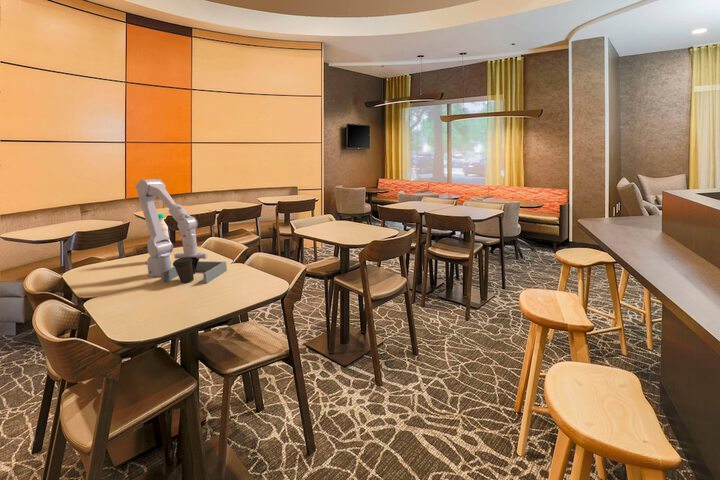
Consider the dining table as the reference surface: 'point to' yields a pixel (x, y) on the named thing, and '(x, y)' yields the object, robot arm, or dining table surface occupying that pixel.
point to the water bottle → (163, 226)
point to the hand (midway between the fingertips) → (192, 273)
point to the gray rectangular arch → (210, 266)
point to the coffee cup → (184, 269)
